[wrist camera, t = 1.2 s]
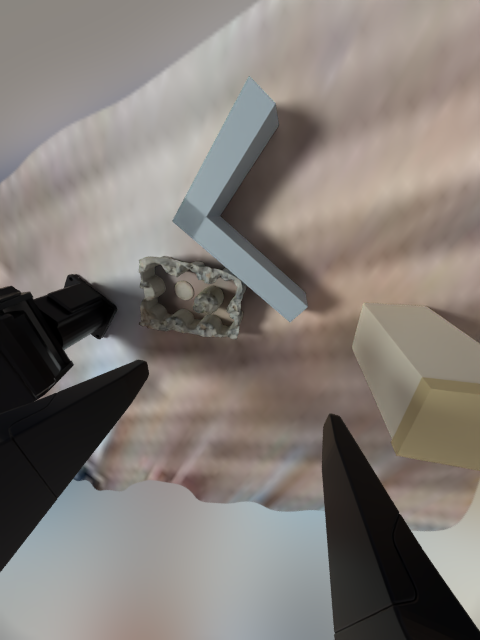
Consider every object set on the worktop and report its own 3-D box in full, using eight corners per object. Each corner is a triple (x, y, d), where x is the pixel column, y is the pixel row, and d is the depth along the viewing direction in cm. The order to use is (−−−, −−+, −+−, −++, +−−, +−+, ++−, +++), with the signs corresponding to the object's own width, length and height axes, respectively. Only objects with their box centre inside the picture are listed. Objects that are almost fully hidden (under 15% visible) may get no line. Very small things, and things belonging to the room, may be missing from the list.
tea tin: (350, 348, 22) (396, 455, 12) (362, 301, 19) (431, 388, 10) (407, 353, 21) (507, 475, 11) (427, 304, 18) (576, 406, 9)
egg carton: (156, 310, 25) (133, 326, 22) (154, 246, 22) (126, 252, 18) (241, 333, 24) (232, 353, 20) (254, 268, 20) (245, 280, 17)
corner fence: (290, 306, 21) (290, 322, 18) (191, 219, 19) (172, 221, 16) (377, 226, 17) (396, 229, 13) (257, 103, 15) (249, 75, 12)
